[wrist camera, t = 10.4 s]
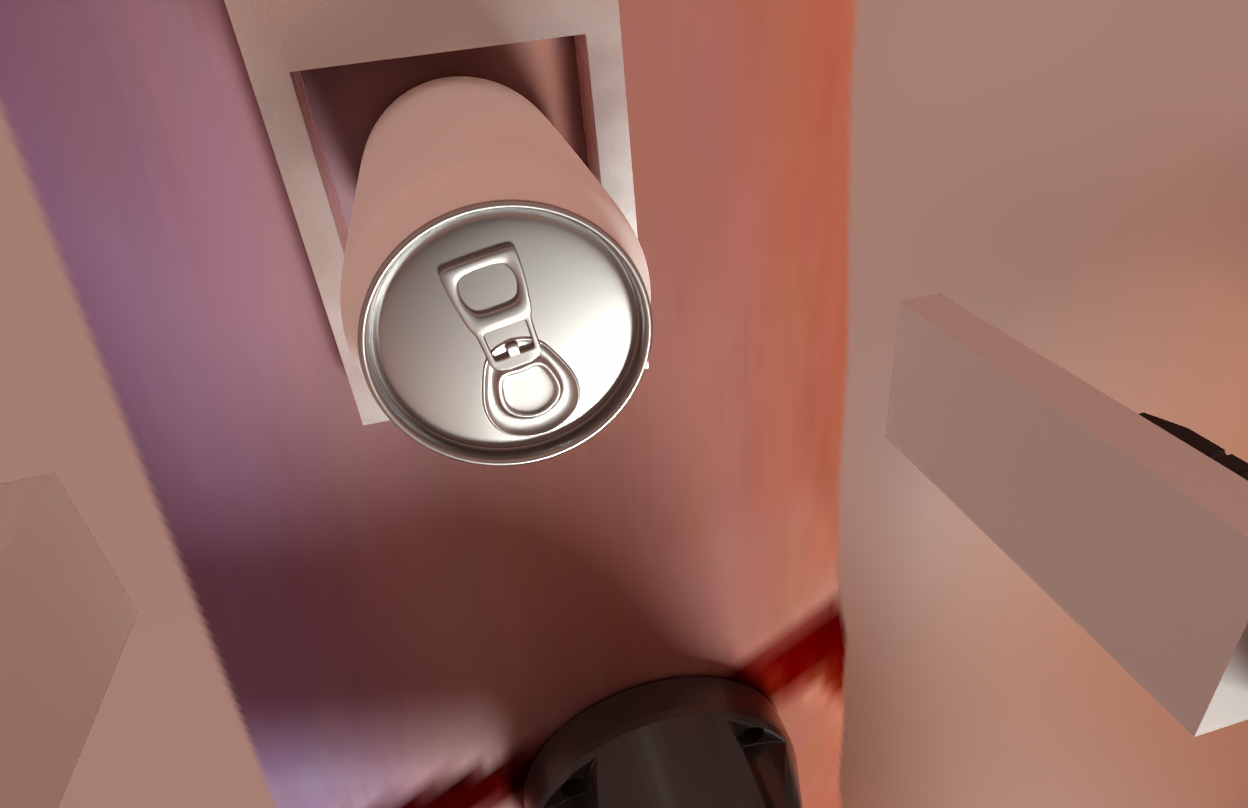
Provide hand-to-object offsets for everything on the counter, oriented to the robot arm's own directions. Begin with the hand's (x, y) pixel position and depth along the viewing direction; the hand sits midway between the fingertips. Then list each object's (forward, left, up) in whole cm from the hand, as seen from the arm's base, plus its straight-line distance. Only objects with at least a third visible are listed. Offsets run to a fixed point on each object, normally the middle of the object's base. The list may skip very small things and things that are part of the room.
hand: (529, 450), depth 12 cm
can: (0, 0, -15) cm, 15 cm away
